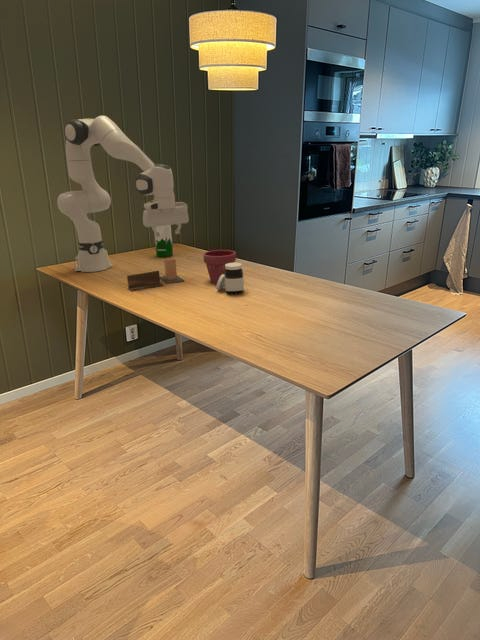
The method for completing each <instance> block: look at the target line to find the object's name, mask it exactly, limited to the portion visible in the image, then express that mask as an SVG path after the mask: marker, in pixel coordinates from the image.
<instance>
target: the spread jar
mask: <svg viewBox="0 0 480 640" xmlns="http://www.w3.org/2000/svg"><path fill="white" fill-rule="evenodd" d="M215 287H216V290H218V291H221V290H223V288H224V291H225V293H226V294H228V295H240V294H243V293H244V290H245V287H244V271H243V264H242V262H234V263H228V264H225V275H223V274H222V275H221V276H220V278H219V279H218V282H217V283H216V286H215Z"/></svg>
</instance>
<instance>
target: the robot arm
mask: <svg viewBox="0 0 480 640" xmlns="http://www.w3.org/2000/svg"><path fill="white" fill-rule="evenodd" d="M63 133H64V136H65V139H66V142H65V156H66V157H65V158H66V164H67V165H66V166H67V171H68V177H69V178H70V179H71V180H72V181H73V182H76V184H80V186H81V187H82V190H71V191H66V192H63V193H61V194H59V195H58V197H57V199H56V200H57V202H56V204H57V208H58V209H59V211H60V212H61V213H62V214H63V215H65V216H67V218H69V219H70V220H71V221H72V223H73V225H74V226H75V229H76V233H77V238H78V243H77V244H78V245H77V246H78V254H77V255H76V256H75V257H74V258H75V261H76V264H75V268H74V269H75V272H76V271H81V272H82V273H83V272H84V273H94V272H100V271H104V270H108V269H109V268H111V267H114V264H113V263H111V262H110V259H109V255H108V251H107V250H106V249H105V247H104V241H103V239H102V233H101V227H100V224H99V223H98V222H96V221H94V220H92V219H89V218H88V215H87V214H92V213H99V212H103V211H106V210H109V208H110V206H111V202H112V200H111V196H110V194H109V192H107V190H106V189H104V188H102V187H101V186H100V184H98V182H97V181H96V177H95V174H94V170H93V165H92V156H91V148H92V146H94V147H98V146H101V147H102V148H103V150H104V151H105V152H106V153H107V154H108V155H109V156H111V157H112V158H113V159H118V160H122V161H128V162H130V163H133V164H135V165H137V166H138V167H139V168H140V169H141V170H142V172H141V173H138V174H137V175H136V176H135V178H134V181H133V182H134V187H135V190H136V192H137V193H138V194H140V195H141V196H149V195H150V196H153V199H152V200H150V201H147V202H145V203H144V204H143V209H144V210H143V213H142V224H143V226H144V227H146V228H151V229H152V231H153V232H155V235H154V237H155V236H156V237H158V236H159V232H157V231H156V230H155V229H156V226H165V225H171V226H172V225H176V226H177V227H176V229H175V230H174V234H175V235H180V233H181V232H180V231H181V228H182V224H188V222H189V221H190V219H189V212H188V209H189V208H188V204H187V203H186V202H184V201H180V202H176V197H175V196H176V195H175V192H174V188H175V187H174V186H175V185H174V175H173V171H172V168H171V166H169V165H167V164H164V163H155V162H154V160H153V159H152V158H150V156H149V155H148V154H146V152H145V151H144V150H143V149H141V148H140V146H138V145H137V144H135V143H134V142H133V141H132V140H131V139H130V138H129V137H128V136H127V135H126V134H125V133H124V132H123V131H122V130H121V129H120V127H119V126H118V125H117V124H116V123H115V122H114V121H113V120H112V119H111V118H109V117H108V116H107V115H98V116H97V117H95V118H89V117H86V118H81V119H80V118H79V119H75V118H74V119H70V120H68V121H67V122H65V124H64V128H63Z"/></svg>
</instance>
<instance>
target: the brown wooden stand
mask: <svg viewBox="0 0 480 640" xmlns="http://www.w3.org/2000/svg"><path fill="white" fill-rule="evenodd" d="M160 277H161V276H160V271H159V270H155V271H149V272H148V271H147V272H141V273H136V274H135V273H134V274H129V275H128V274H127V275H126V278H127V279H126V280H127V287H128V288H127V289H128V290H129V291H130V292H137V291H143V290H148V289H154V288H159V287H164V284H163V283H161V279H160Z"/></svg>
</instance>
